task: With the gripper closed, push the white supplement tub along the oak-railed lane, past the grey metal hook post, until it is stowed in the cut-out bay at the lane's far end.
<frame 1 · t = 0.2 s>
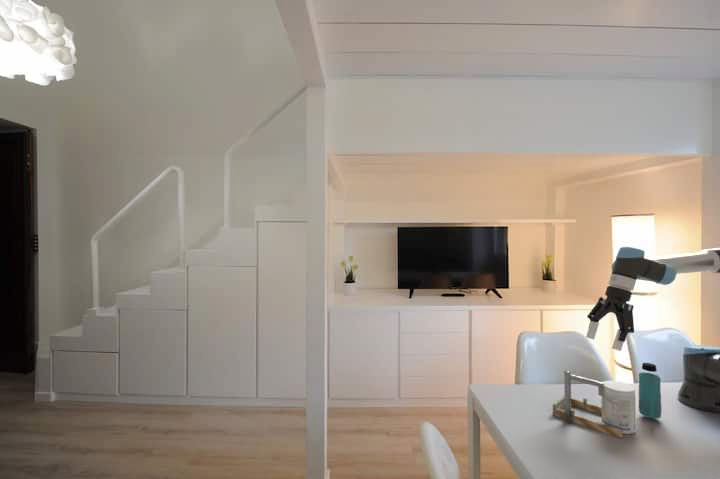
hand: (602, 343, 128), 27 cm above the table, tool tilted 15°, fingers open, 13 cm apart
bay board: (591, 418, 128), on the table
beverage bottle: (649, 419, 129), on the table
hook post: (567, 422, 126), on the table
supplement tub: (618, 428, 122), on the table
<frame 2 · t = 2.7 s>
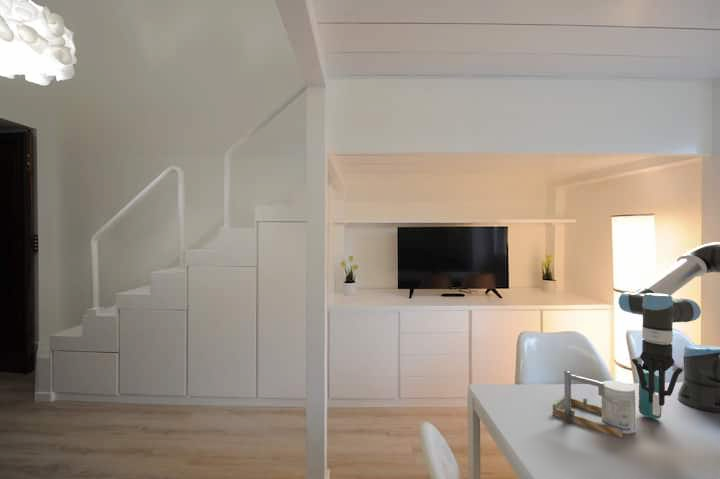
hand: (656, 413, 114), 9 cm above the table, tool pointing down, fingers closed
nothing on the table moved.
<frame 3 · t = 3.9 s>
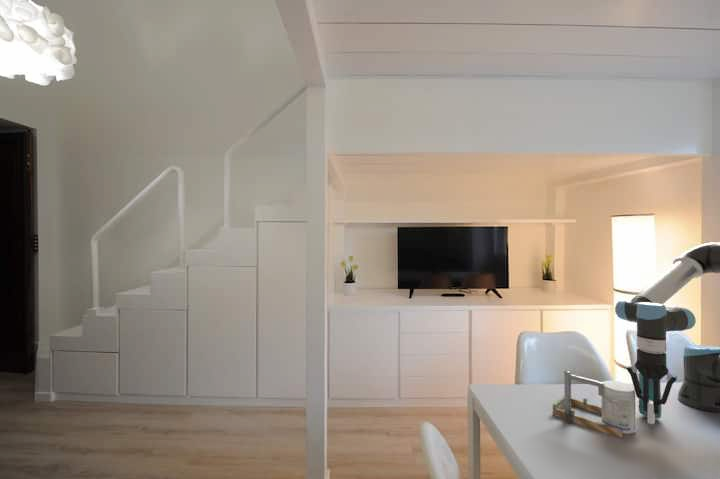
hand: (651, 422, 116), 5 cm above the table, tool pointing down, fingers closed
nothing on the table moved.
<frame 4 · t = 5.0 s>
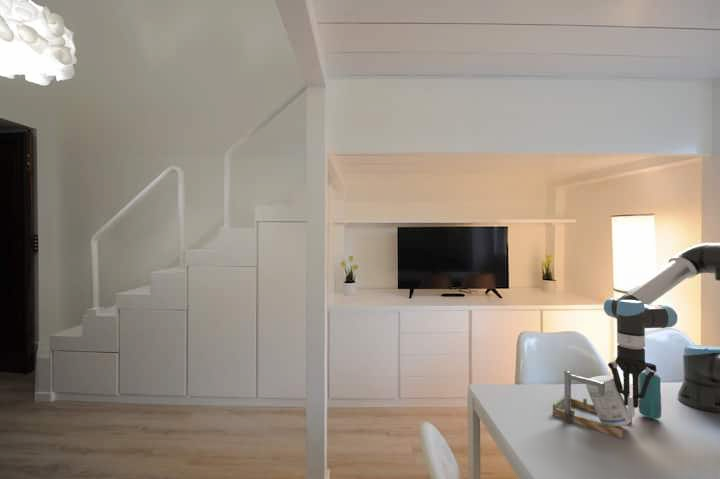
hand: (631, 415, 119), 6 cm above the table, tool pointing down, fingers closed
supplement tub: (616, 423, 122), point 1 cm above the table, touching gripper, hand
everything else where it was.
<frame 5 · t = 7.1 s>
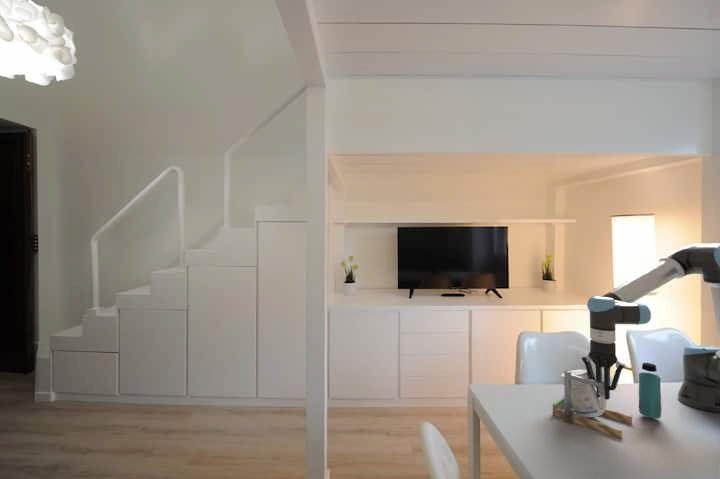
hand: (603, 407, 125), 6 cm above the table, tool pointing down, fingers closed
supplement tub: (590, 414, 128), point 1 cm above the table, touching gripper, hand
everything else where it was.
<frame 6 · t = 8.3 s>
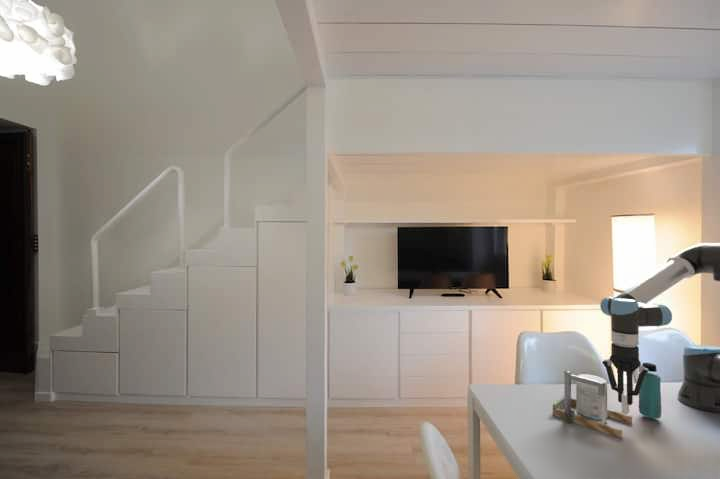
hand: (625, 412, 121), 6 cm above the table, tool pointing down, fingers closed
supplement tub: (591, 419, 128), on the table
everything else where it was.
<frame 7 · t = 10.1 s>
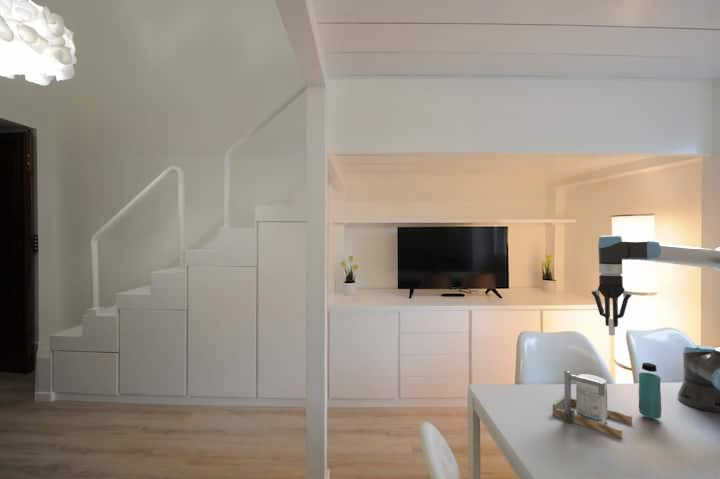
hand: (611, 334, 138), 28 cm above the table, tool pointing down, fingers closed
nothing on the table moved.
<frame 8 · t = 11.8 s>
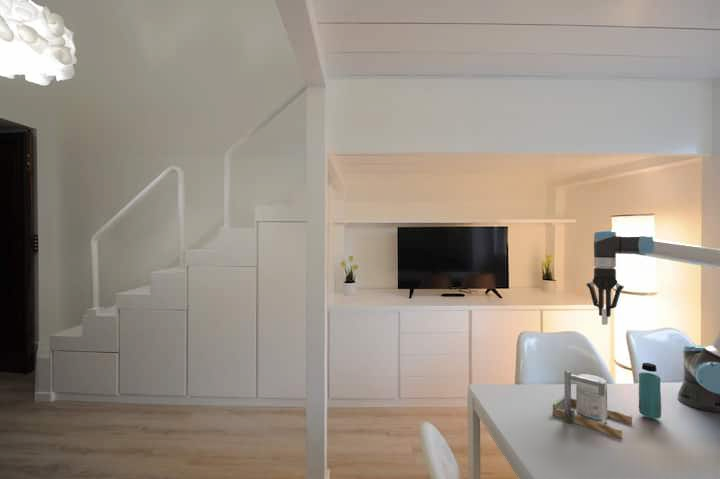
hand: (604, 324, 147), 30 cm above the table, tool pointing down, fingers closed
nothing on the table moved.
at the end: supplement tub inside the target area (4.3 cm from its centre), on the table; supplement tub tilted 0°; supplement tub moved 8.0 cm from its start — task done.
